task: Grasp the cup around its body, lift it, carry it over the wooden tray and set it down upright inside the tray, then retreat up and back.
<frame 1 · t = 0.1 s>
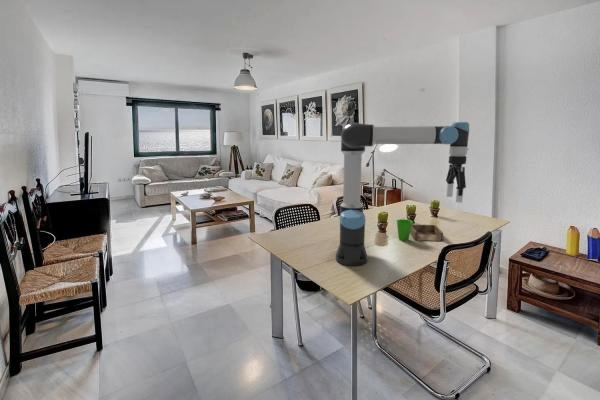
hand: (453, 199, 159), 28 cm above the table, fingers open, 13 cm apart
cup: (403, 240, 186), on the table
wooden tray: (425, 236, 191), on the table
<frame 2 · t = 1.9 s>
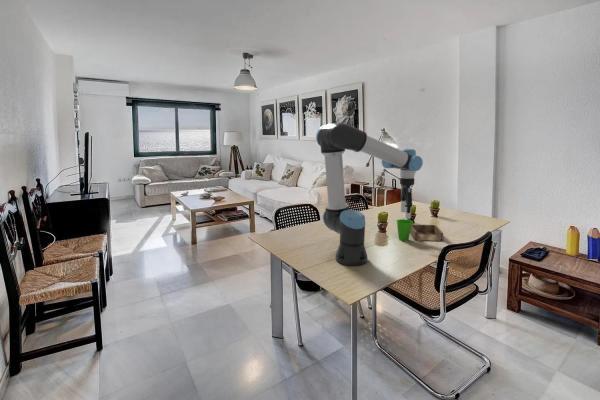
hand: (405, 215, 183), 14 cm above the table, fingers open, 13 cm apart
nothing on the table moved.
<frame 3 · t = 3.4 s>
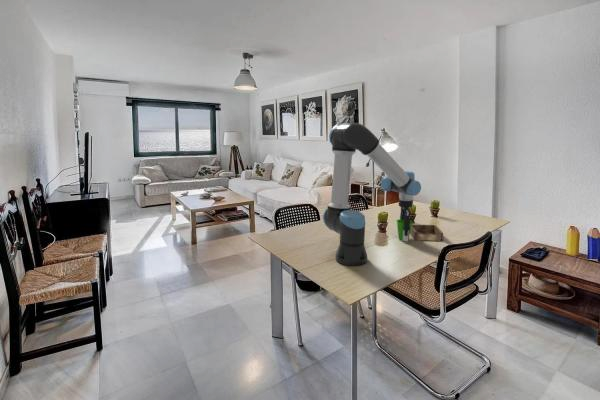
hand: (403, 238, 185), 1 cm above the table, fingers closed on cup, 9 cm apart
cup: (403, 240, 186), on the table, touching gripper
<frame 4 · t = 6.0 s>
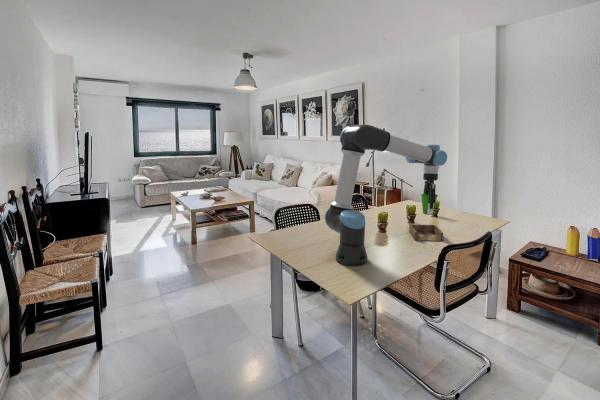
hand: (427, 212, 185), 15 cm above the table, fingers closed on cup, 9 cm apart
cup: (427, 214, 185), point 14 cm above the table, touching gripper
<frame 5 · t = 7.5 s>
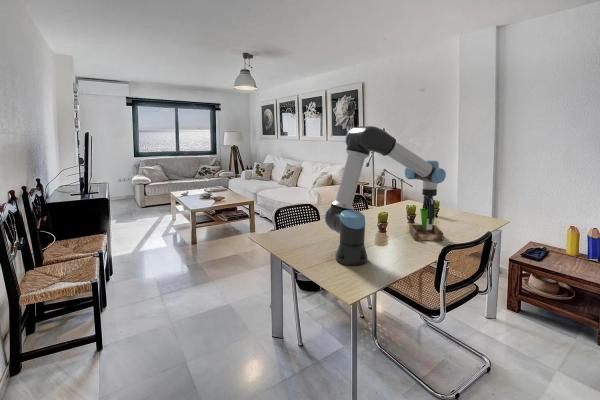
hand: (427, 226, 187), 7 cm above the table, fingers closed on cup, 9 cm apart
cup: (426, 228, 187), point 6 cm above the table, touching gripper
when the fingers open (3 cm above the table, at t = 8.8 s): cup drops 1 cm, resting on wooden tray.
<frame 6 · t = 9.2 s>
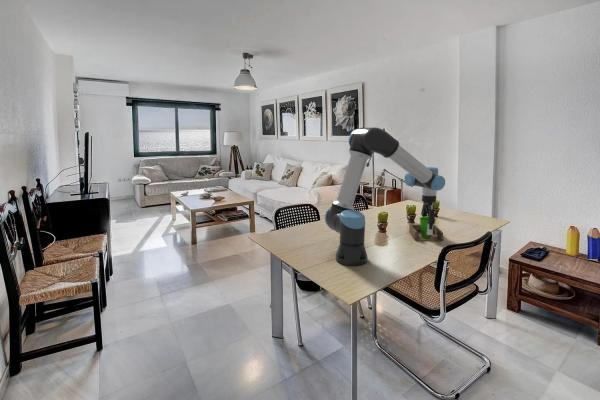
hand: (426, 231, 188), 4 cm above the table, fingers open, 13 cm apart
cup: (426, 237, 188), resting on wooden tray
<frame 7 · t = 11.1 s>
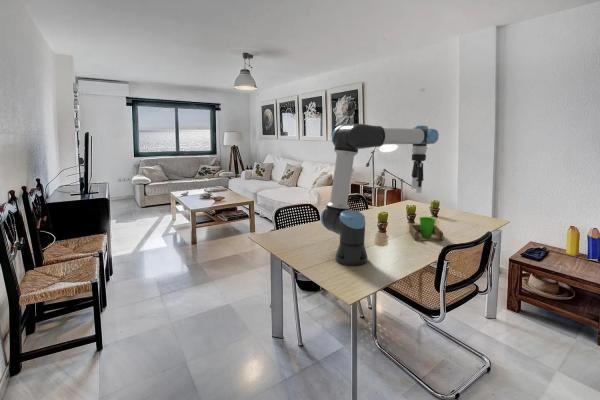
hand: (416, 190, 188), 27 cm above the table, fingers open, 13 cm apart
nothing on the table moved.
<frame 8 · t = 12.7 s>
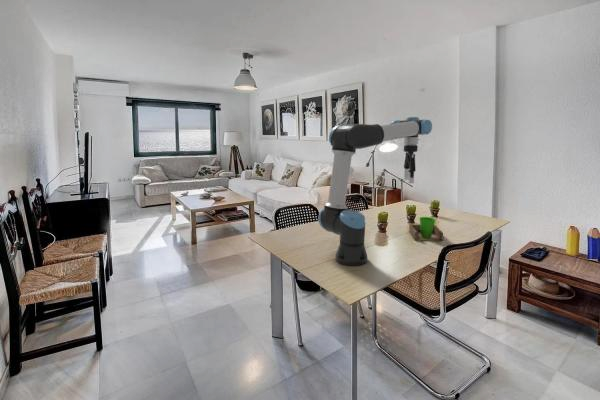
hand: (408, 181, 191), 32 cm above the table, fingers open, 13 cm apart
nothing on the table moved.
at the end: cup inside the target area on the wooden tray (0.2 cm from its centre), point 0.3 cm above the wooden tray's base; cup tilted 0°; the gripper is holding nothing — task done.
